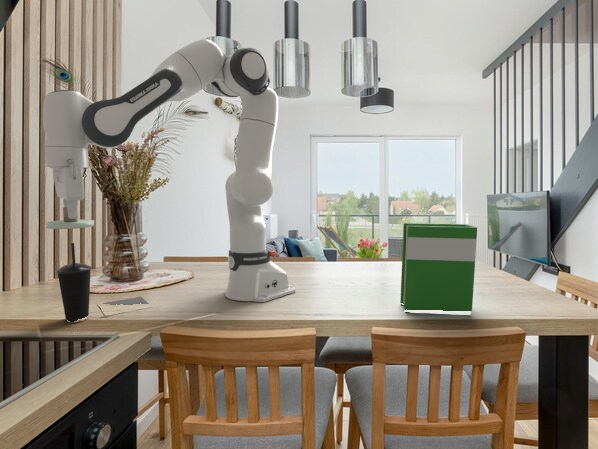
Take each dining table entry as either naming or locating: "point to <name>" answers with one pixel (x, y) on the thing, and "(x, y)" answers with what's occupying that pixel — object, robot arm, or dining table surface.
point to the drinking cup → (75, 288)
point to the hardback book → (438, 266)
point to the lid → (69, 222)
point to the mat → (129, 301)
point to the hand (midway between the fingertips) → (71, 217)
